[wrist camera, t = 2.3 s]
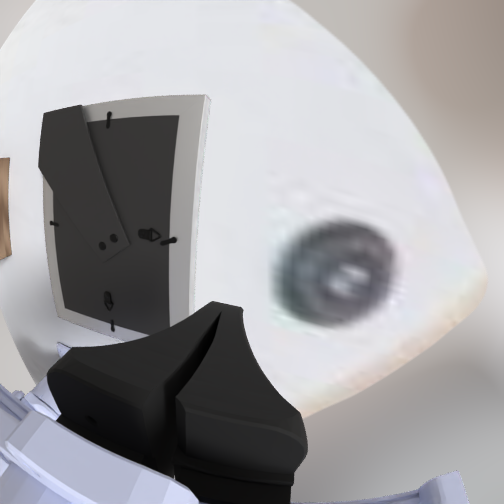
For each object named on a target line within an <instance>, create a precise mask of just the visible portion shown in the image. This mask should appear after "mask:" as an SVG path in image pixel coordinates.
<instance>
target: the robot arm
mask: <svg viewBox="0 0 504 504" xmlns="http://www.w3.org/2000/svg"><path fill="white" fill-rule="evenodd" d="M57 349H58V353H59V356H60V359H59V360H58V361H57V362H56V363H55V364H54V365H53V366H52V367H51V368H50V369H49V371H48V373H47V375H46V376H45V377H44V378H43V379H42V380H41V381H40V383H39V384H38V385H37V386H36V387H35V388H34V389H33V390H32V391H30V392H29V393H28V394H27V395H26V396H25V397H23V396H24V395H25V394H24V393H23V392H22V391H17V390H15V391H14V392H13V393H12V394H11V393H10V392H9V391H8V390H7V389H5V388H4V387H3V386H2V385H1V384H0V504H470V503H469V500H468V497H467V494H466V491H465V488H464V485H463V482H462V479H461V476H460V473H459V471H457V470H456V471H453V472H450V473H447V474H444V475H440V476H437V477H435V478H433V479H431V480H429V481H427V482H426V483H424V484H423V485H422V486H421V487H420V488H419V489H417V490H413V491H409V492H404V493H400V494H395V495H389V496H383V497H378V498H370V499H362V500H353V501H341V502H309V503H307V502H290V497H291V486H293V484H294V472H295V471H296V469H297V468H298V467H299V466H300V464H301V463H302V461H303V460H304V459H305V457H306V455H307V452H308V444H307V436H306V431H305V427H304V423H303V420H302V417H301V414H300V412H299V411H298V410H296V409H295V408H294V407H293V406H292V405H291V404H290V403H289V402H287V401H286V400H285V399H284V398H283V397H282V396H281V395H280V394H279V393H278V392H277V390H276V389H275V388H274V387H273V385H272V384H271V383H270V381H269V380H268V379H267V377H266V376H265V374H264V373H263V371H262V370H261V368H260V366H259V365H258V363H257V361H256V359H255V357H254V355H253V352H252V350H251V348H250V345H249V342H248V339H247V336H246V332H245V328H244V323H243V309H242V308H241V307H238V306H233V305H228V304H224V303H219V302H215V301H212V302H210V303H208V304H207V305H205V306H204V307H202V308H201V309H199V310H198V311H196V312H195V313H193V314H192V315H190V316H189V317H187V318H185V319H184V320H182V321H180V322H178V323H177V324H175V325H173V326H171V327H169V328H167V329H165V330H162V331H160V332H157V333H155V334H152V335H149V336H146V337H143V338H139V339H136V340H132V341H128V342H124V343H119V344H113V345H105V346H94V347H72V348H71V349H70V348H68V347H66V346H64V345H62V344H61V343H58V344H57ZM174 475H175V480H174Z"/></svg>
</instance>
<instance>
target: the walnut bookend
mask: <svg viewBox="0 0 504 504" xmlns="http://www.w3.org/2000/svg"><path fill="white" fill-rule="evenodd" d="M9 160H10V158H0V260H1V259H3V258H5V257H8V256H10V255H12V253H11V244H10V233H9V216H8V177H9Z"/></svg>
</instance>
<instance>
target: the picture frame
mask: <svg viewBox="0 0 504 504" xmlns="http://www.w3.org/2000/svg"><path fill="white" fill-rule="evenodd" d="M210 105H211V99H210V98H209V97H208V96H207V95H170V96H154V97H142V98H132V99H124V100H116V101H109V102H103V103H97V104H91V105H86V106H82V105H77V106H72V107H67V108H63V109H58V110H54V111H50V112H46V113H44V115H43V122H42V129H41V138H40V149H39V163H38V167H39V169H40V171H41V172H42V174H43V211H44V229H45V241H46V251H47V259H48V267H49V273H50V280H51V285H52V291H53V296H54V301H55V306H56V310H57V314H58V317H60V318H62V319H65V320H67V321H69V322H72V323H75V324H77V325H80V326H82V327H85V328H88V329H90V330H93V331H96V332H99V333H102V334H105V335H108V336H111V337H114V338H117V339H120V340H123V341H126V342H128V341H132V340H136V339H139V338H143V337H146V336H149V335H152V334H155V333H157V332H160V331H162V330H165V329H167V328H169V327H171V326H173V325H175V324H177V323H178V322H180V321H182V320H184V319H185V318H187V317H189V316H190V315H192V314H193V313H194V306H195V274H196V253H197V235H198V220H199V207H200V194H201V183H202V172H203V162H204V153H205V144H206V136H207V127H208V120H209V112H210Z"/></svg>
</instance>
